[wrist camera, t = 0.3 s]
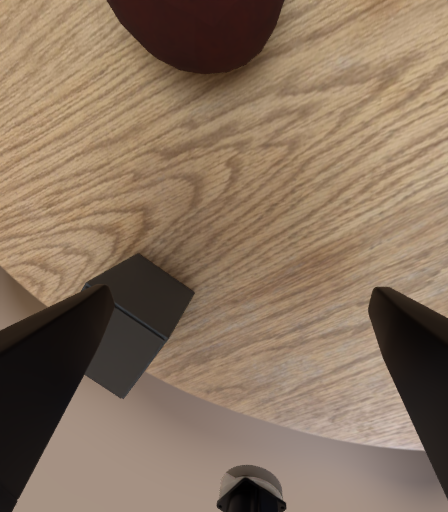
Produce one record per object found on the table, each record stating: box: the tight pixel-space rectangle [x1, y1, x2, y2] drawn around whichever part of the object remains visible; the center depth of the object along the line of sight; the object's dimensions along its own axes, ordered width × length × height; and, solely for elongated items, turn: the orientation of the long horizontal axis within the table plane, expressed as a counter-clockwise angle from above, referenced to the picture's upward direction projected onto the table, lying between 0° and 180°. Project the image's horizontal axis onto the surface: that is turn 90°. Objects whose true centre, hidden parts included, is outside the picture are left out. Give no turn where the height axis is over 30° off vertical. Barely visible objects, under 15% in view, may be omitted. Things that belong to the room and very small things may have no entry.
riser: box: [81, 253, 195, 399], centre depth 23 cm, size 7×7×8 cm
